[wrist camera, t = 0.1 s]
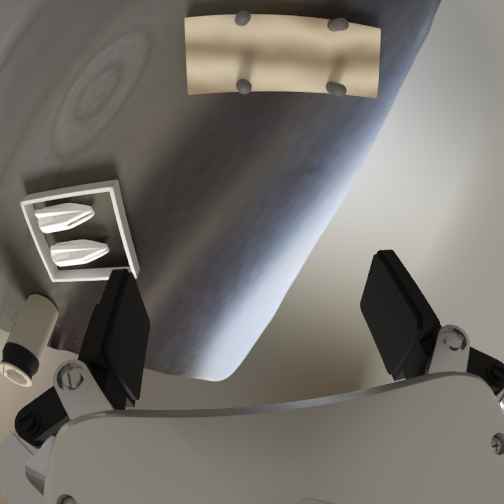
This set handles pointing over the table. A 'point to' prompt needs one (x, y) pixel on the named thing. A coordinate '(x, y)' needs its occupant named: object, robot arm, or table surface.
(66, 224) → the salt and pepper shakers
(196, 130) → the table surface
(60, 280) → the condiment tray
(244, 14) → the tool rack
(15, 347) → the travel mug
